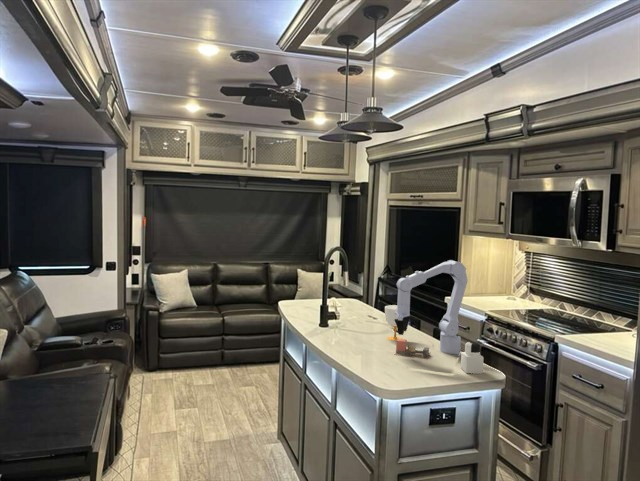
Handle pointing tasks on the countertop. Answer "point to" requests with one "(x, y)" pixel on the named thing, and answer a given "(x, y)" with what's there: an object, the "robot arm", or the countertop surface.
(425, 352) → the cracker bench
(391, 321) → the cup
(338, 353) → the countertop surface
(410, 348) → the cylinder
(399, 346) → the block
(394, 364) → the countertop surface
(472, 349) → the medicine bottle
